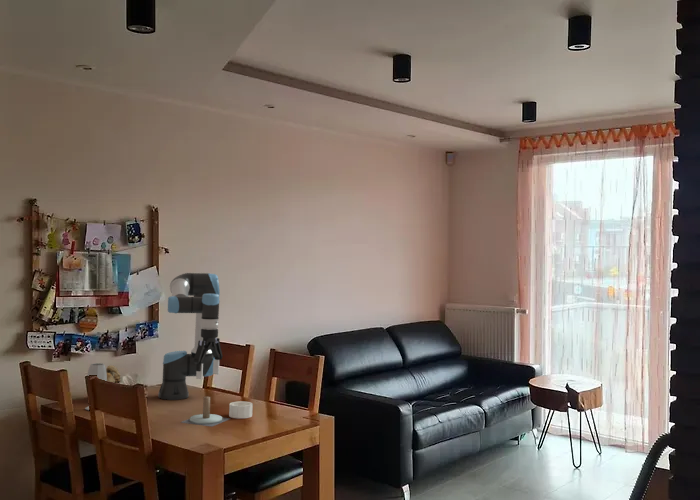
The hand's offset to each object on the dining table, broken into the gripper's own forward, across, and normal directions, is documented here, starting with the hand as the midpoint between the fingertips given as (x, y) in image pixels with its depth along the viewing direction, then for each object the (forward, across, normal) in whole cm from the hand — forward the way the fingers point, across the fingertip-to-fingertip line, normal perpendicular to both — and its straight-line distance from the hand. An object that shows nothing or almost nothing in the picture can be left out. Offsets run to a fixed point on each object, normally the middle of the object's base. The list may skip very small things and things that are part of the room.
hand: (207, 376), depth 292 cm
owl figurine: (+20, +16, +67) cm, 72 cm away
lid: (+19, 0, 0) cm, 19 cm away
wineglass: (+20, -4, +57) cm, 61 cm away
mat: (+20, 0, 0) cm, 20 cm away
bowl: (+20, +15, -9) cm, 26 cm away
